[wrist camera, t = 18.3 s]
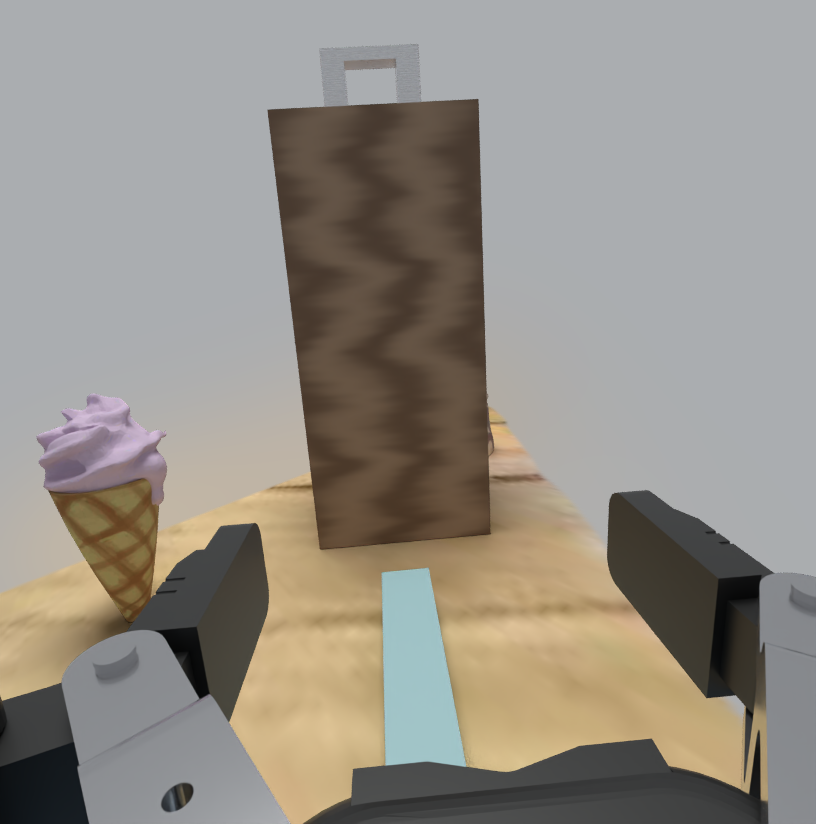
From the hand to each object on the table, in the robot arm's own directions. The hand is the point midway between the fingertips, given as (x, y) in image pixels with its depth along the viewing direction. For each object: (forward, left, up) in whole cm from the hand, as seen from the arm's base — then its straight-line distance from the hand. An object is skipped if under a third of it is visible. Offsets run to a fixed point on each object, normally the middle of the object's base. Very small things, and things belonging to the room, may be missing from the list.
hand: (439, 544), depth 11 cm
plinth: (+16, +28, -14) cm, 36 cm away
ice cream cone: (-6, +26, -15) cm, 31 cm away
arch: (+15, +26, +18) cm, 35 cm away
